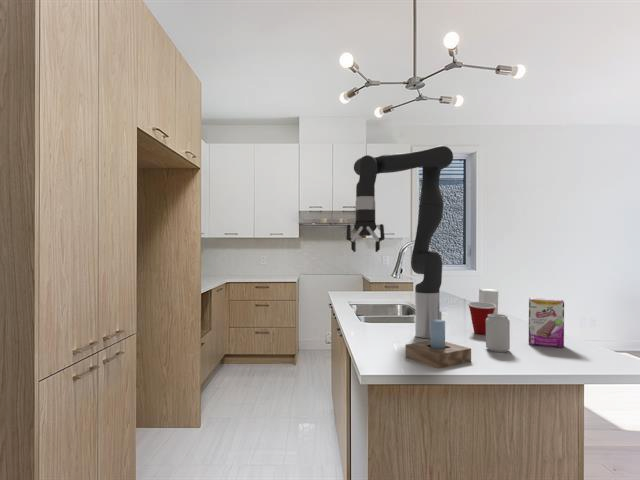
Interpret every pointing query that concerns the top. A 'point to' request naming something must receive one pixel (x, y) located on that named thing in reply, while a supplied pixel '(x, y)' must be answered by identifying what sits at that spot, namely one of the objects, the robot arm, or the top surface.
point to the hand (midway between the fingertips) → (365, 251)
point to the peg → (437, 334)
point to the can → (497, 333)
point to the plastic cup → (480, 315)
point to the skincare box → (489, 297)
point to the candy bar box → (546, 322)
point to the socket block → (438, 354)
